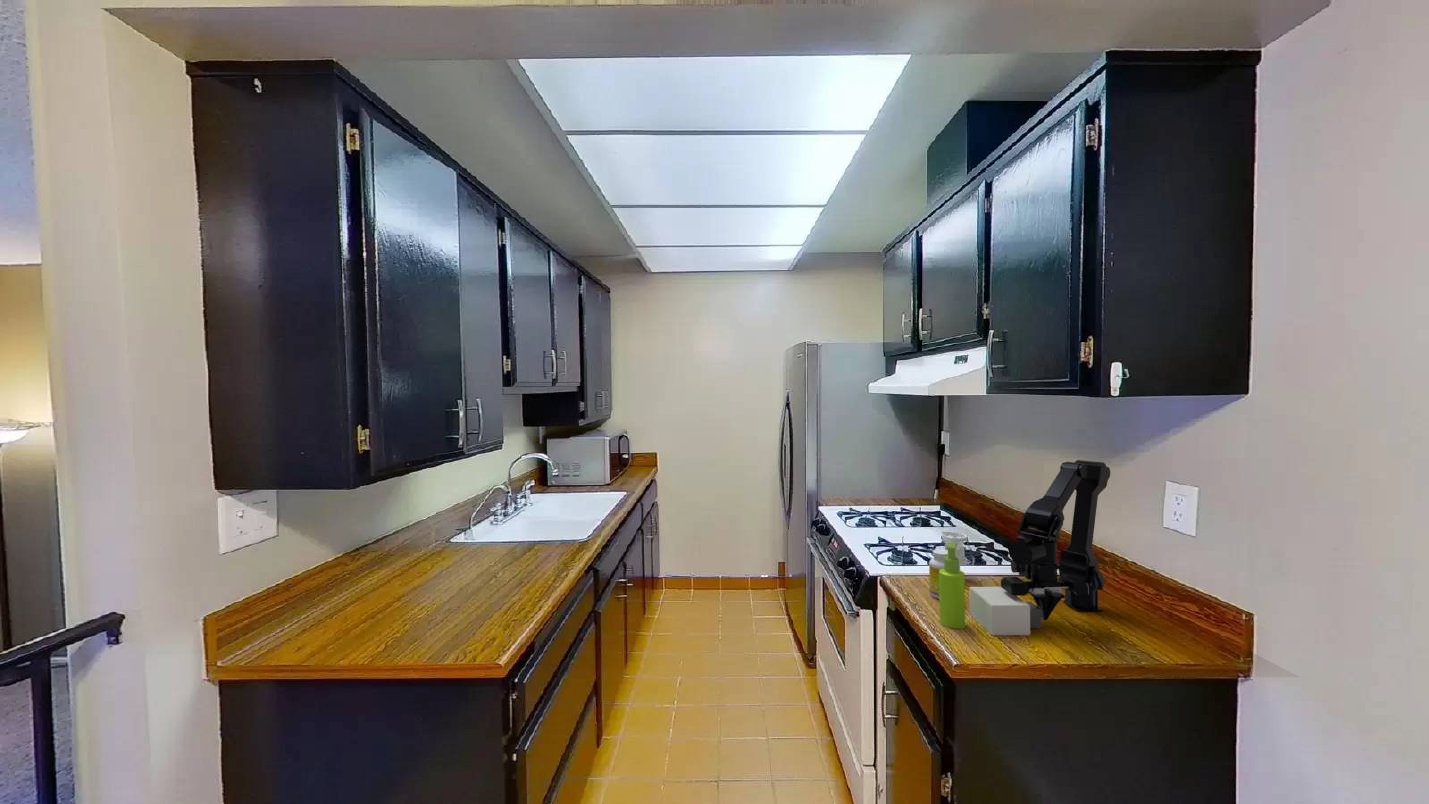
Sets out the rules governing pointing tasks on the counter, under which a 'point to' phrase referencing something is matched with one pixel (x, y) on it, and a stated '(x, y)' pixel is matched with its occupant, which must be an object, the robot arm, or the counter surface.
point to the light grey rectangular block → (999, 611)
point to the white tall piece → (959, 547)
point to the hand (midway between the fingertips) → (1044, 619)
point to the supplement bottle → (936, 571)
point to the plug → (1034, 616)
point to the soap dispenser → (952, 591)
